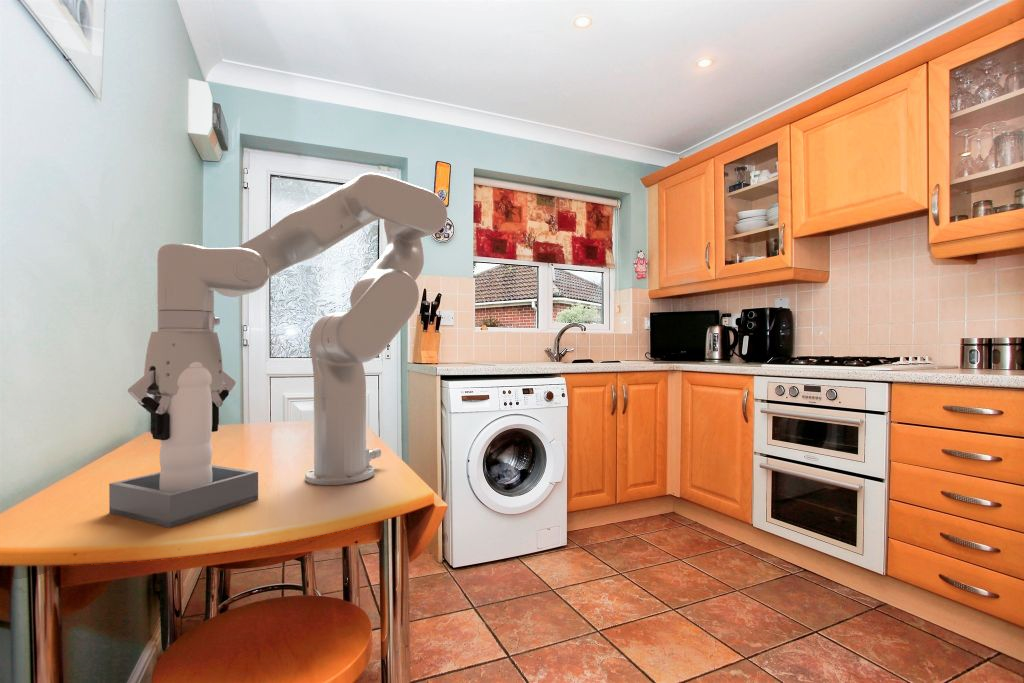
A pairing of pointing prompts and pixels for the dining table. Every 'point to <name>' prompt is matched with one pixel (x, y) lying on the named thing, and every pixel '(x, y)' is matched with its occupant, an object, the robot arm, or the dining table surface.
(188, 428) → the water bottle
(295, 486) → the dining table surface
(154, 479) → the tray
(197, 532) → the dining table surface
